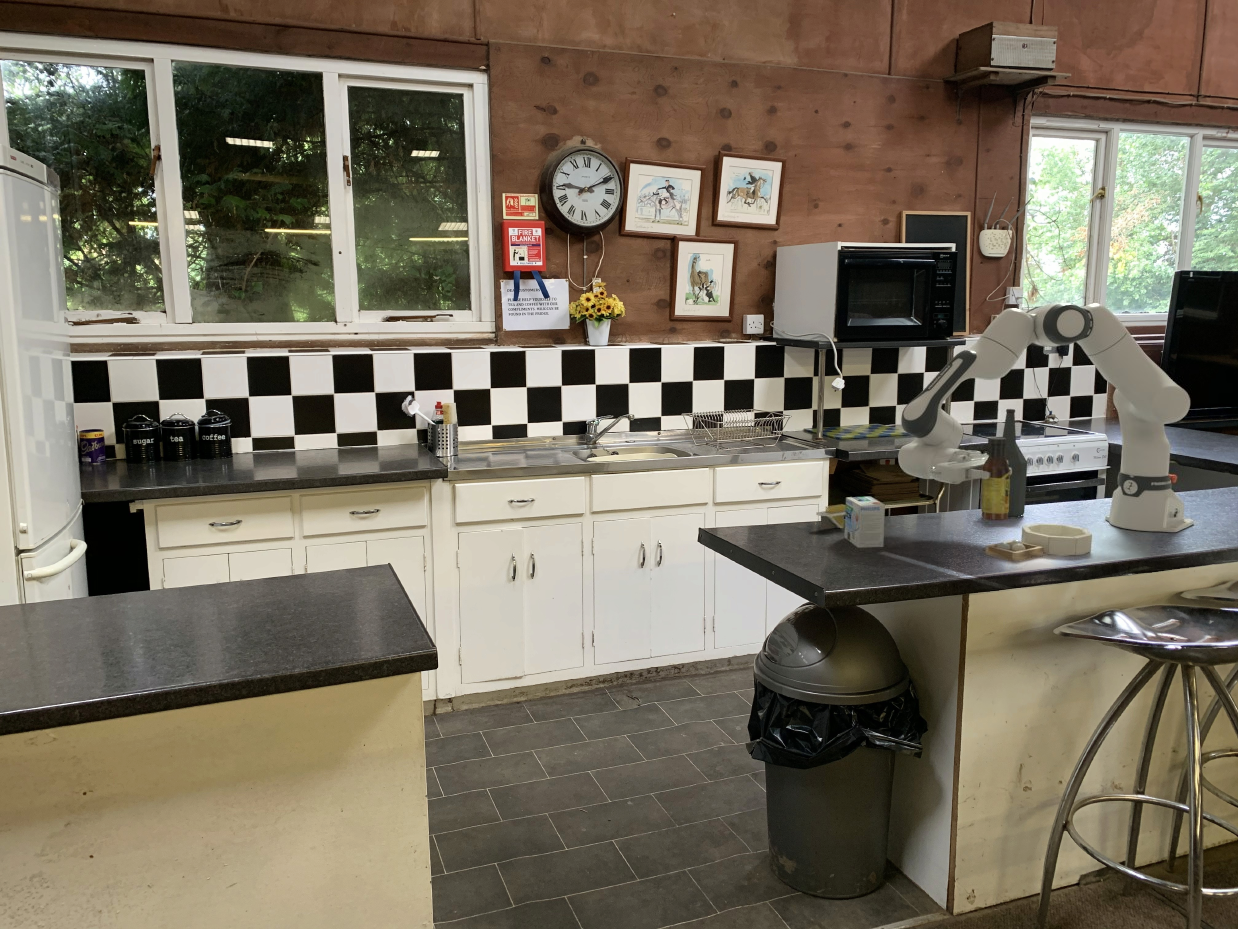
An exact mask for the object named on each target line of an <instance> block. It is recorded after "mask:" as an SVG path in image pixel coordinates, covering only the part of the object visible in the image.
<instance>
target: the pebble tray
mask: <svg viewBox="0 0 1238 929" xmlns="http://www.w3.org/2000/svg"><path fill="white" fill-rule="evenodd" d="M1014 540H1015V539H1013V540H1008V541H1003V542H1004V543H1007V544H1009V546H1010V544H1011V542H1012V541H1014ZM1000 543H1001V542H997V543H994V544H988V545H985V555H986V556H990V557H995V558H998V559H1003V560H1007V561H1009V562H1010V561H1011V562H1014V563H1016V562H1022V561H1025V560H1029V559H1035V558H1039V557H1042V556H1044V553H1043V547H1040V546H1036V545H1032V544H1028V543H1023V542H1022V543H1023V545H1024V546H1025V548H1026V550H1021V551H1017V552H1013V551H1012V550H1011V549H1010V551H1009V550H1005V549H1001V548H997V546H998V544H1000Z"/></svg>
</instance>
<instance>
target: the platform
mask: <svg viewBox="0 0 1238 929" xmlns="http://www.w3.org/2000/svg"><path fill="white" fill-rule="evenodd" d="M815 515H816V516H820V531H823V530H829V529H830V530H831V529H834V528H835V529H836V528H840V529H845V525H844V524H845V516H846V504H836V505H829V506H825V511H817V512H816V514H815Z"/></svg>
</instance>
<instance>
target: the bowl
mask: <svg viewBox="0 0 1238 929" xmlns="http://www.w3.org/2000/svg"><path fill="white" fill-rule="evenodd" d="M1092 538H1093V534H1092V533H1091V532H1090V530H1088V529H1086V528H1083V527H1078V526H1073V525H1068V524H1060V523H1034V524H1027V525H1023V526H1022V527H1021V540H1020V541H1021V542H1023V543H1028V544H1032V545H1036V546H1040V547H1043V555H1052V556H1054V555H1055V556H1081V555H1086V554H1088V553H1090V552H1092V540H1093V539H1092Z"/></svg>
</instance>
